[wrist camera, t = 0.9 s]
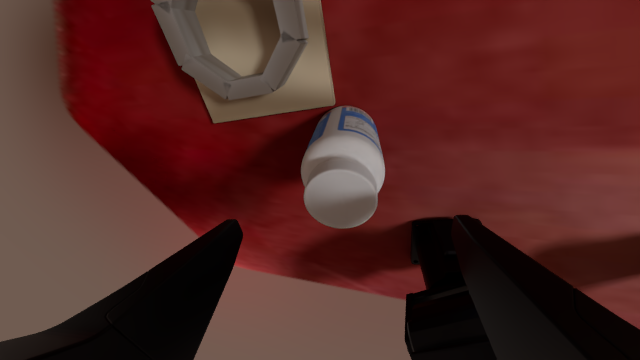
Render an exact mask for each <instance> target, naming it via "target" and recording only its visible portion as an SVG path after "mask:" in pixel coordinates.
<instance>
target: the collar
mask: <svg viewBox="0 0 640 360" xmlns="http://www.w3.org/2000/svg"><path fill="white" fill-rule="evenodd" d="M151 1H152V2H154V3H155V5H151V6H152V8H153V10H154V13H155V15H156V17H157V19H158V22H159V24H160V26H161V28H162V30H163V33H164V35H165V37H166V39H167V41H168V44H169V46H170V48H171V50H172V52H173V55H174V57H175V59H176V61H177V64H178V66H181V65H183V66H182V70H183V71H184V72H186V73H187V74H189V75H190V76H192V77H193V78H194V79H195V81H196V83H197V86H198V88H199V90H200V93H201V95H202V97H203V99H204V102H205V104H206V106H207V109H208V111H209V113H210V116H211V118H212V120H213V123H219V122H226V121H232V120H239V119H246V118H252V117H259V116H266V115H272V114H279V113H286V112H292V111H299V110H306V109H312V108H319V107H326V106H332V105H334V104H335V97H334V90H333V83H332V76H331V69H330V62H329V55H328V48H327V41H326V34H325V27H324V21H323V14H322V7H321V0H151Z"/></svg>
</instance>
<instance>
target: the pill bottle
mask: <svg viewBox="0 0 640 360" xmlns="http://www.w3.org/2000/svg"><path fill="white" fill-rule="evenodd" d="M301 177H302V181H303V184H304V186H305V190H304V203H305V206H306V208H307V210H308V212H309V213H310V214H311V215H312V217H313V218H315V219H316V220H317V221H319V222H320V223H322V224H324V225H327V226H330V227H333V228H352V227H355V226H358V225H361V224H363V223H364V222H366V221H367V220H368V219H369V218H370V217H371V216H372V215H373V214H374V212H375V210H376V207H377V202H378V198H377V193H378V192H379V190H380V189H381V187H382V184H383V182H384V177H385V166H384V160H383V155H382V151H381V147H380V143H379V138H378V134H377V129H376V126H375V124H374V122H373V120H372V118H371V117H370V116H369V115H368V114H367V113H366V112H364V111H363V110H361V109H359V108H356V107H352V106H340V107H336V108H334V109H332V110H330V111H328V112H327V113H326V114H325V115H324V116H323V117H322V118H321V119H320V121H319V122H318V124H317V127H316V129H315V131H314V133H313V136H312V138H311V140H310V143H309V145H308V147H307V150H306V152H305V155H304V157H303V160H302V165H301Z"/></svg>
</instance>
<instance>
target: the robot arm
mask: <svg viewBox="0 0 640 360" xmlns="http://www.w3.org/2000/svg"><path fill="white" fill-rule="evenodd" d="M416 225H419V226H416ZM242 238H243V232H242V230H241V227H240V225H239V223H238V221H237V220H235V219H228V220H226V221H224V222H223V223H221V224H220V225H218V226H216V227H215V228H213V229H212V230H210V231H209V232H207V233H206V234H204V235H203V236H201V237H199V238H198V239H196V240H195V241H193V242H192V243H190V244H189V245H187V246H186V247H184V248H183V249H181V250H180V251H178V252H177V253H175V254H173V255H172V256H170V257H169V258H167V259H166V260H164V261H163V262H161V263H159V264H158V265H156V266H155V267H153V268H152V269H150V270H149V272H146V273H144V274H143V275H141V276H139V277H138V278H136V279H135V280H133V281H132V282H130V283H128V284H127V285H125V286H124V287H122V288H121V289H119V290H117V291H116V292H114V293H112V294H110V295H109V296H107V297H106V298H104V299H102V300H100V301H99V302H97V303H95V304H94V305H92V306H90V307H88V308H87V309H85V310H84V311H82V312H80V313H78V314H76V315H75V316H73V317H71V318H70V319H68V320H66V321H65V322H62V323H61V324H59V325H57V326H54V327H52V328H50V329H47V330H45V331H42V332H39V333H36V334H32V335H28V336H24V337H20V338H15V339H11V340H6V341H2V342H0V360H194V357H195V355H196V353H197V350H198V348H199V346H200V343H201V341H202V339H203V336H204V334H205V332H206V329H207V327H208V325H209V323H210V320H211V318H212V316H213V313H214V311H215V309H216V306H217V304H218V302H219V299H220V297H221V295H222V292H223V290H224V288H225V285H226V283H227V281H228V279H229V276H230V274H231V271H232V269H233V266H234V263H235V260H236V257H237V254H238V251H239V248H240V245H241V241H242ZM411 262H412V264H420V266H421V270H422V274H423V278H424V282H425V285H426V289H427V290H424V291H420V292H417V293H414V294H413V293H410V294H407V295H406V316H405V342H406V345H407V349H408V352H409V354H410V357H411V359H412V360H640V329H638V328H636V327H635V326H633V325H631V324H630V323H628V322H627V321H625V320H623V319H622V318H620V317H619V316H617V315H616V314H614V313H612V312H611V311H609V310H608V309H606V308H605V307H603V306H602V305H600V304H599V303H597V302H596V301H594V300H593V299H591V298H590V297H588V296H587V295H585V294H584V293H582V292H581V291H579V290H578V289H576V288H574V289H573V286H572V285H570V284H569V283H567V282H566V281H564V280H563V279H561V278H560V277H559V276H557V275H556V274H554V273H553V272H551V271H550V270H548V269H547V268H545V267H544V266H542V265H541V264H539V263H538V262H536V261H535V260H533V259H532V258H530V257H529V256H527V255H526V254H525V253H523V252H522V251H520V250H519V249H517V248H516V247H514V246H513V245H511V244H510V243H508V242H507V241H505V240H504V239H502V238H501V237H499V236H498V235H496V234H495V233H494V232H492V231H491V230H489V229H488V228H486V227H485V226H483V225H482V223H481V221H480V220H479V219H473V218H471V217H470V216H468V215H456V216H454V219H453V220H426V221H414V222H413V223H412V233H411Z"/></svg>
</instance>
